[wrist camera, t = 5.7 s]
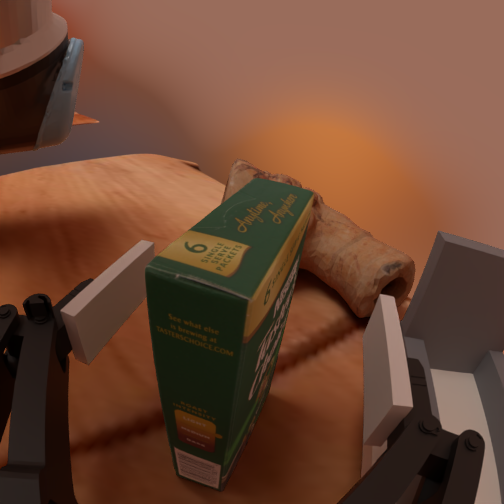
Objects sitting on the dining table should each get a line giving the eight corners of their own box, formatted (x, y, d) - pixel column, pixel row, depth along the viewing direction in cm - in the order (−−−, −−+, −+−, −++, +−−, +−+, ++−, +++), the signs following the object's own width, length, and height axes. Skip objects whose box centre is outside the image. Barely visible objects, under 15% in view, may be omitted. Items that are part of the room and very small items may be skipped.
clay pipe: (276, 258, 42) (169, 239, 33) (309, 182, 39) (203, 142, 30) (381, 349, 28) (256, 366, 19) (437, 249, 25) (334, 204, 16)
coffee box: (223, 501, 12) (257, 292, 6) (170, 478, 13) (133, 252, 7) (271, 393, 19) (320, 188, 13) (229, 378, 20) (253, 173, 14)
